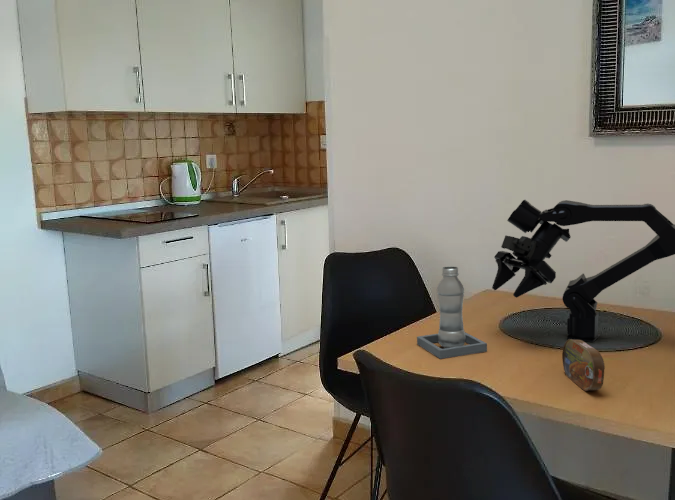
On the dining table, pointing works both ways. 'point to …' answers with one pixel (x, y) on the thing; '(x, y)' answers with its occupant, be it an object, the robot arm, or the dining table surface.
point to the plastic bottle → (450, 309)
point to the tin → (583, 364)
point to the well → (474, 347)
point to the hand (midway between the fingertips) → (503, 292)
